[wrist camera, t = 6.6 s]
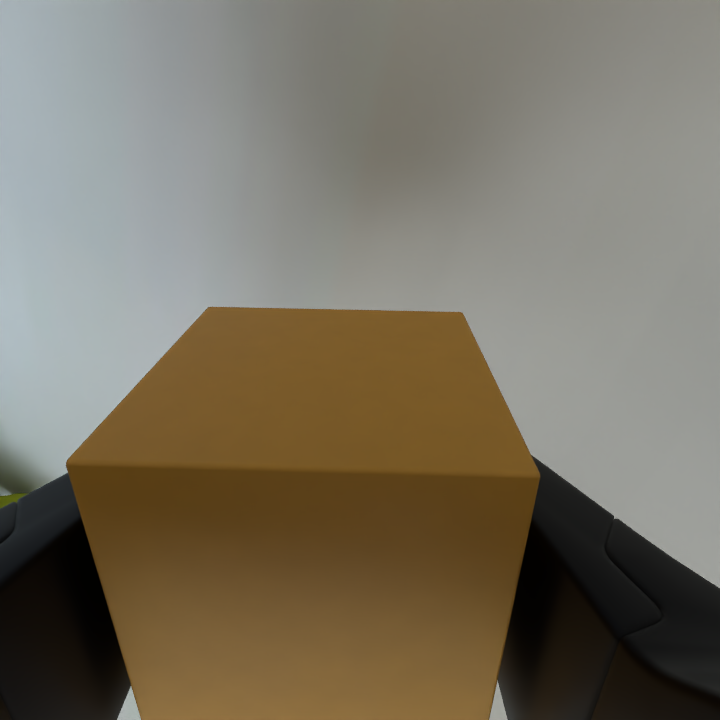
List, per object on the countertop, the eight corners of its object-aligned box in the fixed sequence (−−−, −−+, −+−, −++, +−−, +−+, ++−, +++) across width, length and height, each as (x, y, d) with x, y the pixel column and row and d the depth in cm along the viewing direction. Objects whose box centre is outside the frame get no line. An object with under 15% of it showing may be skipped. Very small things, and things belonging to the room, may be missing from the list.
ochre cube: (462, 311, 9) (543, 473, 5) (441, 509, 11) (484, 749, 7) (207, 305, 9) (61, 461, 5) (232, 504, 11) (145, 737, 7)
